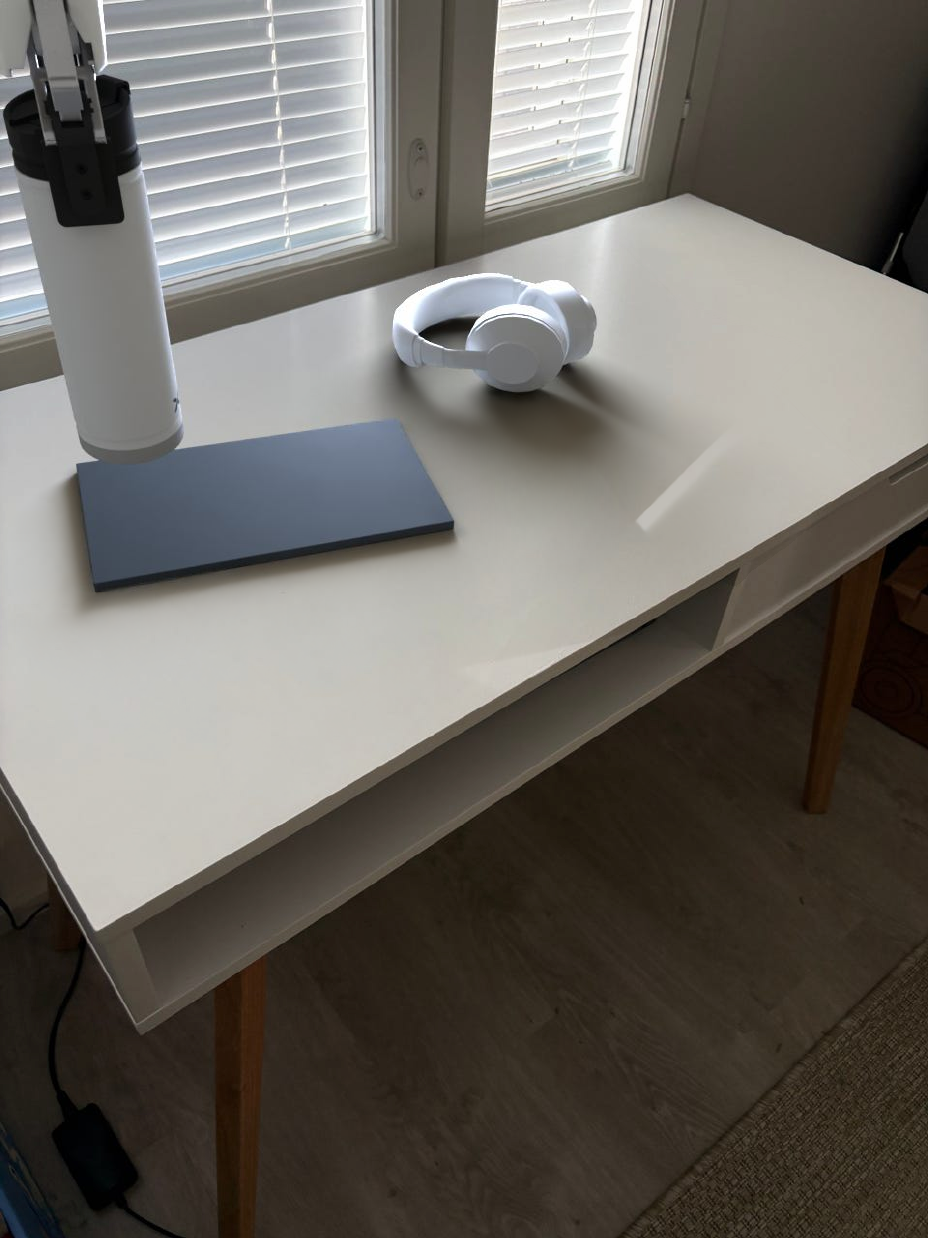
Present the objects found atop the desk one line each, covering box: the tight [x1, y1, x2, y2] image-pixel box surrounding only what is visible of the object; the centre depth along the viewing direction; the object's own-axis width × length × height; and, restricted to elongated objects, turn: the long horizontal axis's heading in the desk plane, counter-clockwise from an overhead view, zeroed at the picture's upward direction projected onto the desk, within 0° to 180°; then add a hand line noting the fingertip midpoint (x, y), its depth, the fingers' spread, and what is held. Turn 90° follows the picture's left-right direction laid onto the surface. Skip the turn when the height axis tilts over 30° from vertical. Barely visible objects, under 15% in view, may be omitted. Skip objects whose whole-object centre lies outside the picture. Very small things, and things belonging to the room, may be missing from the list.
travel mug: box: [2, 73, 185, 465], centre depth 56 cm, size 6×7×20 cm
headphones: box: [392, 272, 598, 393], centre depth 101 cm, size 18×8×20 cm
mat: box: [75, 417, 455, 593], centre depth 83 cm, size 28×16×1 cm, turn 110°
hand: (86, 193), depth 53 cm, fingers closed on travel mug, 6 cm apart
